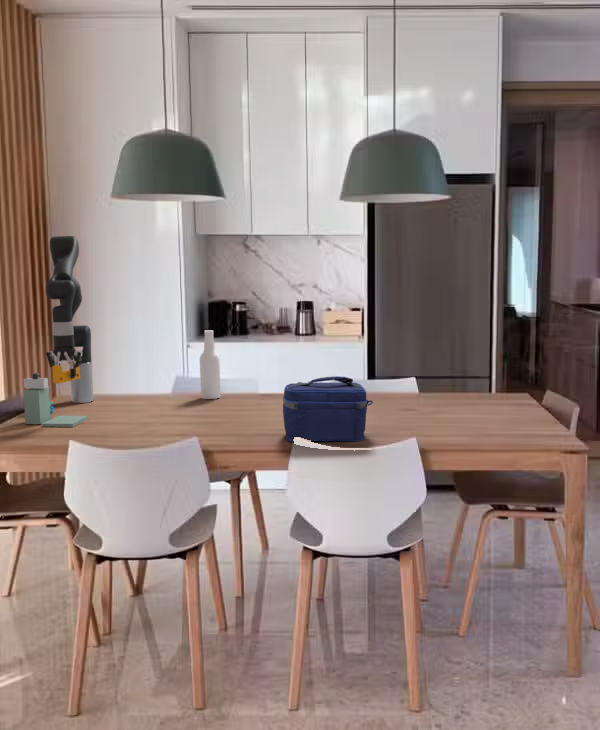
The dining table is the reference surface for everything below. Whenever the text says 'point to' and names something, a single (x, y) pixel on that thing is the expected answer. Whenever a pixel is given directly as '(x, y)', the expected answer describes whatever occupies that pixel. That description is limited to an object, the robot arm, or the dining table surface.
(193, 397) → the dining table surface
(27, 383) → the grey block
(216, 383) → the alcohol
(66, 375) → the yellow notched block
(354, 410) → the lunch bag
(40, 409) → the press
